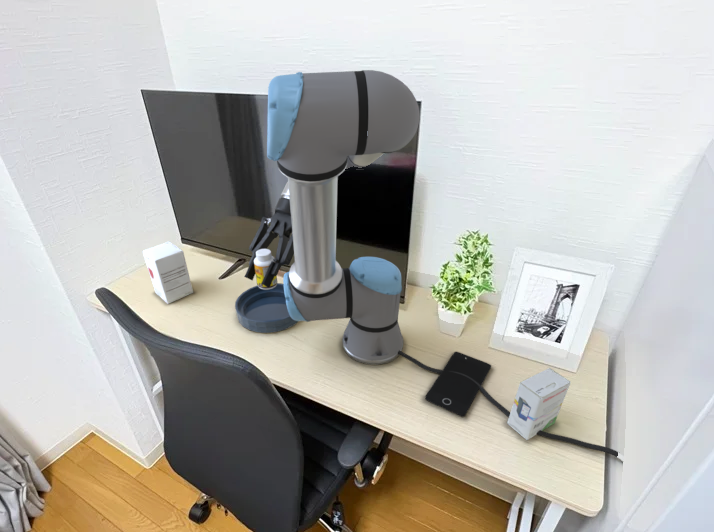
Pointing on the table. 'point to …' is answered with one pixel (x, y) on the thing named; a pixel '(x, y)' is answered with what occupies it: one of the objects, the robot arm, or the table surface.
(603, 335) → the table surface
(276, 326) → the bowl
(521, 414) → the ink box
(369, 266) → the robot arm
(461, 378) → the cell phone
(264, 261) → the supplement bottle
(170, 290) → the rectangular carton
